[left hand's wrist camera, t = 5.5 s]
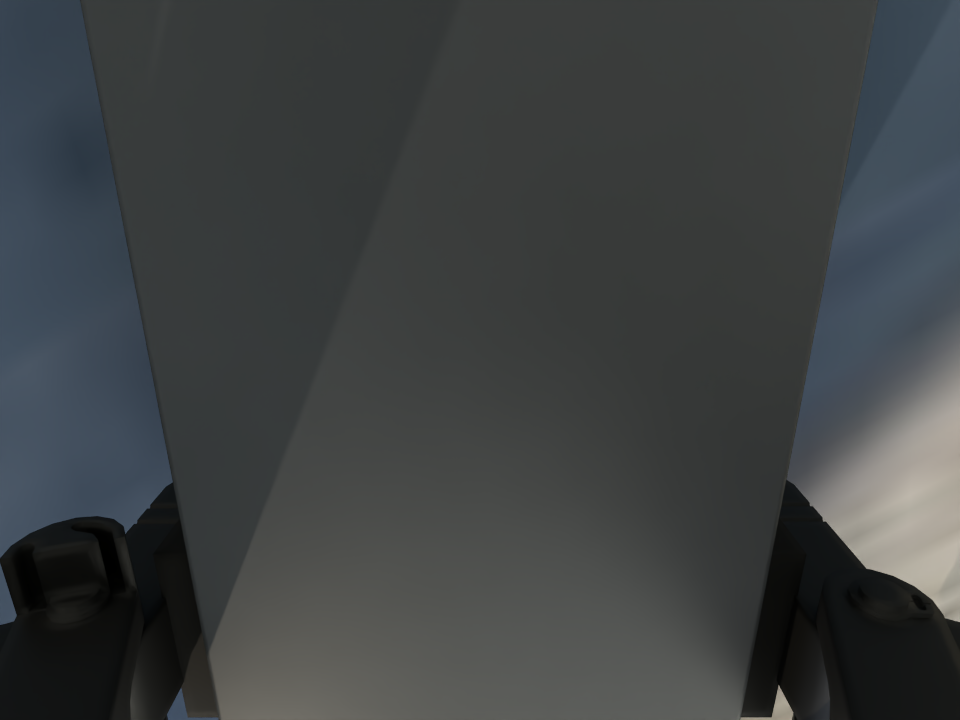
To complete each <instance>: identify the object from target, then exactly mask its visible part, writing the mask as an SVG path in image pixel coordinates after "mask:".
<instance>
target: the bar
mask: <svg viewBox="0 0 960 720" xmlns="http://www.w3.org/2000/svg"><path fill="white" fill-rule="evenodd" d="M80 2H81V7H82V13H83V18H84V23H85V28H86V33H87V39H88V44H89V49H90V54H91V59H92V64H93V70H94V75H95V80H96V85H97V90H98V96H99V101H100V106H101V111H102V116H103V122H104V127H105V132H106V137H107V142H108V147H109V153H110V158H111V163H112V168H113V173H114V179H115V184H116V189H117V194H118V199H119V205H120V210H121V215H122V220H123V225H124V230H125V236H126V241H127V246H128V251H129V256H130V262H131V267H132V272H133V277H134V282H135V288H136V293H137V298H138V303H139V308H140V314H141V319H142V324H143V329H144V334H145V339H146V345H147V350H148V355H149V360H150V365H151V371H152V376H153V381H154V386H155V391H156V397H157V402H158V407H159V412H160V417H161V422H162V428H163V433H164V438H165V443H166V448H167V454H168V459H169V464H170V469H171V474H172V480H173V485H174V490H175V495H176V500H177V505H178V511H179V516H180V521H181V526H182V531H183V537H184V542H185V547H186V552H187V557H188V563H189V568H190V573H191V578H192V583H193V588H194V594H195V599H196V604H197V609H198V614H199V620H200V625H201V630H202V635H203V640H204V646H205V651H206V656H207V661H208V666H209V671H210V677H211V682H212V687H213V692H214V697H215V703H216V708H217V713H218V718H219V720H740V718H741V713H742V707H743V702H744V697H745V692H746V687H747V681H748V676H749V671H750V666H751V661H752V655H753V650H754V645H755V640H756V634H757V629H758V624H759V619H760V614H761V608H762V603H763V598H764V593H765V588H766V582H767V577H768V572H769V567H770V562H771V556H772V551H773V546H774V541H775V536H776V530H777V525H778V520H779V515H780V509H781V504H782V499H783V494H784V489H785V483H786V478H787V473H788V468H789V463H790V457H791V452H792V447H793V442H794V437H795V431H796V426H797V421H798V416H799V411H800V405H801V400H802V395H803V390H804V385H805V379H806V374H807V369H808V364H809V358H810V353H811V348H812V343H813V338H814V332H815V327H816V322H817V317H818V312H819V306H820V301H821V296H822V291H823V286H824V280H825V275H826V270H827V265H828V260H829V254H830V249H831V244H832V239H833V233H834V228H835V223H836V218H837V213H838V207H839V202H840V197H841V192H842V187H843V181H844V176H845V171H846V166H847V161H848V155H849V150H850V145H851V140H852V135H853V129H854V124H855V119H856V114H857V108H858V103H859V98H860V93H861V88H862V82H863V77H864V72H865V67H866V62H867V56H868V51H869V46H870V41H871V36H872V30H873V25H874V20H875V15H876V10H877V4H878V0H80Z"/></svg>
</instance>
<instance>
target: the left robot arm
mask: <svg viewBox="0 0 960 720" xmlns="http://www.w3.org/2000/svg"><path fill="white" fill-rule="evenodd" d="M809 504H810V503H809V502H808V500H807V499H806V498H805V497H804V496H803V495H802V493H801V492H800V491H799V490H798V489H797V488H796V486H795V485H794V484H792V483H790V482H789V481H787V480H786V483H785V489H784V494H783V499H782V504H781V509H780V515H779V520H778V525H777V530H776V536H775V541H774V546H773V551H772V556H771V562H770V567H769V572H768V577H767V582H766V588H765V593H764V598H763V603H762V608H761V614H760V619H759V624H758V629H757V634H756V640H755V645H754V650H753V655H752V661H751V666H750V671H749V676H748V681H747V687H746V692H745V697H744V702H743V707H742V713H741V717H772V713H773V708H774V704H775V699H776V694H777V690H778V685H779V686H780V688H781V690H782V692H783V694H784V695H785V697H786V699H787V701H788V703H789V705H790V707H791V709H792V711H793V712H794V713H793V717H792V720H960V622H956V621H953V620H949V619H945V618H944V615H943V614H942V612H941V611H940V610H939V608H938V607H937V606H936V604H935V603H934V602H933V600H932V599H930V598H929V597H928V596H926V595H925V594H924V593H922V592H921V591H920V590H918V589H917V588H916V587H914V586H912V585H910V584H908V583H906V582H904V581H902V580H900V579H898V578H896V577H894V576H891V575H888V574H884V573H881V572H877V571H874V570H871V569H866V568H865V567H864V565H863V564H862V563H861V562H860V561H859V560H858V558H857V557H856V556H855V555H854V554H853V553H852V551H851V550H850V549H849V548H848V547H847V546H846V544H845V543H844V542H843V541H842V540H841V539H840V538H839V536H838V535H837V534H836V533H835V532H834V531H833V529H832V528H831V527H830V526H829V525H828V524H827V522H823V520H822V517H821V515H820V514H819V513H818V512H817V511H816V510H815V509H814V507H813V506H810V505H809ZM137 521H138V522H137V524H134V525H133V526H132V527H131V528H130V529H129V531H128V532H127V533H126V534H125V531H124V526H122V525H121V524H120V523H118V522H117V521H116V520H114V519H110V518H104V517H99V516H94V517H81V518H74V519H70V520H66V521H62V522H58V523H54V524H51V525H49V526H46V527H44V528H42V529H39V530H37V531H35V532H32V533H30V534H28V535H27V536H25V537H24V538H22V539H21V540H19V541H18V542H16V543H15V544H13V545H12V546H11V547H10V548H9V549H8V550H7V551H6V552H5V553H4V555H3V556H2V557H1V558H0V563H1V567H2V570H3V573H4V576H5V579H6V582H7V586H8V589H9V592H10V595H11V598H12V601H13V604H14V608H15V611H16V614H17V617H16V619H15V621H14V622H10V623H7V624H3V625H0V720H168V717H167V713H168V711H169V709H170V707H171V705H172V704H173V702H174V700H175V698H176V696H177V694H178V692H179V690H180V688H182V692H183V697H184V701H185V706H186V711H187V715H188V717H218V713H217V708H216V703H215V697H214V692H213V687H212V682H211V677H210V671H209V666H208V661H207V656H206V651H205V646H204V640H203V635H202V630H201V625H200V620H199V614H198V609H197V604H196V599H195V594H194V588H193V583H192V578H191V573H190V568H189V563H188V557H187V552H186V547H185V542H184V537H183V531H182V526H181V521H180V516H179V511H178V505H177V500H176V495H175V490H174V485H173V483H171V484H170V485H168V486H166V487H165V489H164V490H163V491H162V492H161V493H160V494H159V496H158V497H157V498H156V499H155V500H154V501H153V503H152V504H151V505H150V509H147V510H146V511H145V512H144V513H143V514H142V515H141V517H140V518H139V519H138V520H137Z"/></svg>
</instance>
